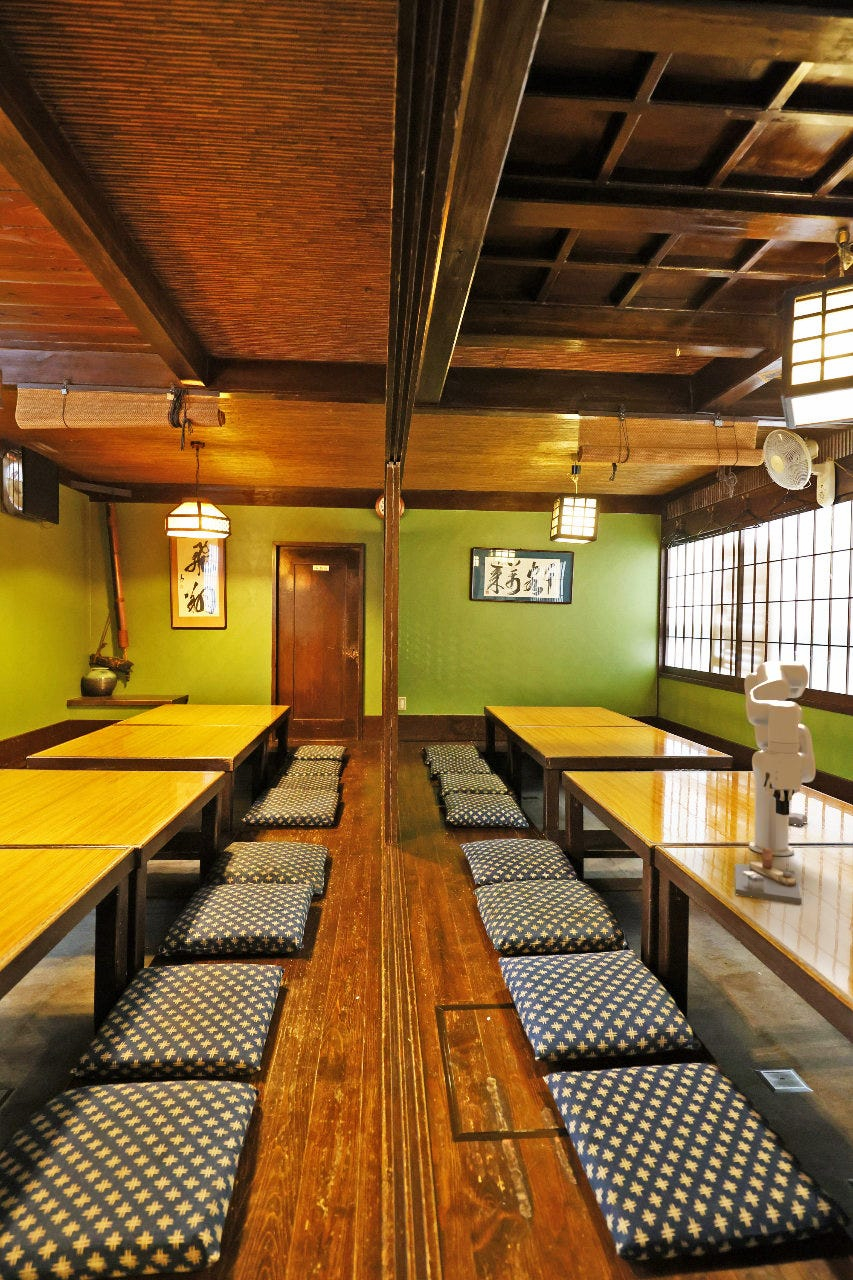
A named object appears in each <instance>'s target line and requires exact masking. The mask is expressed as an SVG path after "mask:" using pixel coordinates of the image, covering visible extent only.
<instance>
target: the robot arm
mask: <svg viewBox="0 0 853 1280" xmlns="http://www.w3.org/2000/svg"><path fill="white" fill-rule="evenodd" d="M808 682H809V672H808V669H807V667H806V666H805V665H804V664H803V662H799V661H775V660H774V661H765V662H763V663H761V664H760V665H759V666H758V667H757V668H756V672H751V673H749V674H747V676H746V677H745V679H744V682H743V683H744V686H743V687H744V694H745V697H746V699H745V710H746V718H747V720H748V722H749V723H750V724H751V725H753V726H754V734H755V735H754V736H755V743H756V745H757V747H758V748H759V749H760V750H757V751H755V752H754V753H753V755H752V758H751V766H752V771H753V772H752V773H753V779H754V840H753V841H750V842H749V843H748V848H749V849H750V850H752V851H754V852H756V853H760V854H762V848H770V849H772V856H775V857H776V856H777V857H787V856H792V855H793V854H794V853H795V848H793V846H791V845H789V812H790V801H792V800H793V799H792V798H793V796H794V795H795V794H797V793H800V791H801V789H800V788H801V787H802V785H803V783H811V782H813V781H814V779H815V777H816V761H815V754H814V748H813V740H812V734H811V731H810V729H809V727H808V726H807V725H805V724H803V723H802V721H803V720H802V719H803V709H802V708H801V707H800V705H799V704H798V703H797V702H794V701H789V700H788V701H787V699H791V698H792V699H796V698H800V697H801V696H802V695H803V693H804V691H805V689H806V688H807V685H808Z"/></svg>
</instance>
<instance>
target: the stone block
mask: <svg viewBox="0 0 853 1280" xmlns="http://www.w3.org/2000/svg"><path fill="white" fill-rule="evenodd" d="M804 822H807V823H808V816H807V815H806V814H805V813H797V812H790V811H789V824H796V825H803V826H804V824H803V823H804Z"/></svg>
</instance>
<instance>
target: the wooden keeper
mask: <svg viewBox="0 0 853 1280" xmlns="http://www.w3.org/2000/svg"><path fill="white" fill-rule="evenodd" d="M742 875H743V876H745V877H746V878H748V887H749V888H750V889H751V890H764V878H763V877H762V876H760V875H759V874H757V873H756V872H754V871H743V872H742Z"/></svg>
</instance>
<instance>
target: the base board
mask: <svg viewBox="0 0 853 1280" xmlns="http://www.w3.org/2000/svg"><path fill="white" fill-rule="evenodd" d="M773 868H774V867H773ZM774 869H777V870H779V871H781V872H790V873H791V875H792V876H794V877H795V878H796V879H797V877H796V873H795V871H794V870H790V869H789V870H788V869H781V868H774ZM743 871H754V872H756V873H757V874H759V875H760V876H762V877H763V878H764V890H751V889H750V888H749V887H748V878H746V877H745V876H743V875H742V872H743ZM734 877H735V878H734V879H735V880H734V885H735V889H736V890H735V895H736V894H738V895H737V896H740V895H743V896H742V897H747V896H752V897H751V898H754V897H757V898H756V899H761V898H763V899H762V900H767V899H768V900H767V901H775V902H782V903H789V904H795V905H802V895H801V893H800V889H799V886H798V882H797V880H796V884H795V885H785V884H782V883H780V882H779V881H777V880H775V879H772V878H770V877H768V876H766V875H764V874H761V873H759V872H757V871H755V870H753V869H750V868H749V864H745V863H744V864H743V863H736V862H735V863H734Z"/></svg>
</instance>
